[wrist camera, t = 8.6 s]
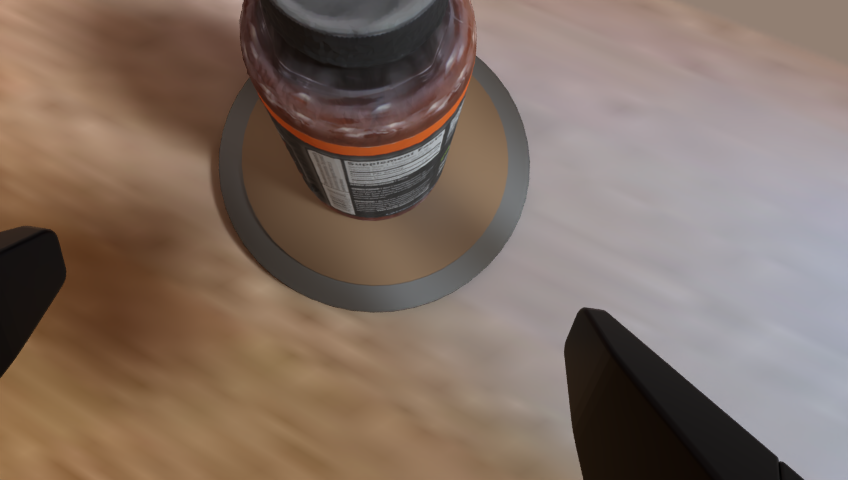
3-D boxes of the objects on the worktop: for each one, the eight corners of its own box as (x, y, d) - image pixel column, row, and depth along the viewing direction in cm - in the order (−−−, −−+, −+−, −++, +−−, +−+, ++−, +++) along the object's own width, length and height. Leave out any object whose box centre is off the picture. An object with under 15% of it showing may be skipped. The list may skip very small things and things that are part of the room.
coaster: (431, 373, 20) (433, 374, 19) (159, 208, 20) (149, 201, 20) (575, 118, 23) (583, 108, 22) (332, -20, 23) (330, -35, 22)
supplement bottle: (294, 96, 21) (187, -186, 10) (434, 85, 21) (481, -194, 10) (304, 233, 20) (196, 88, 9) (452, 218, 20) (528, 63, 9)
